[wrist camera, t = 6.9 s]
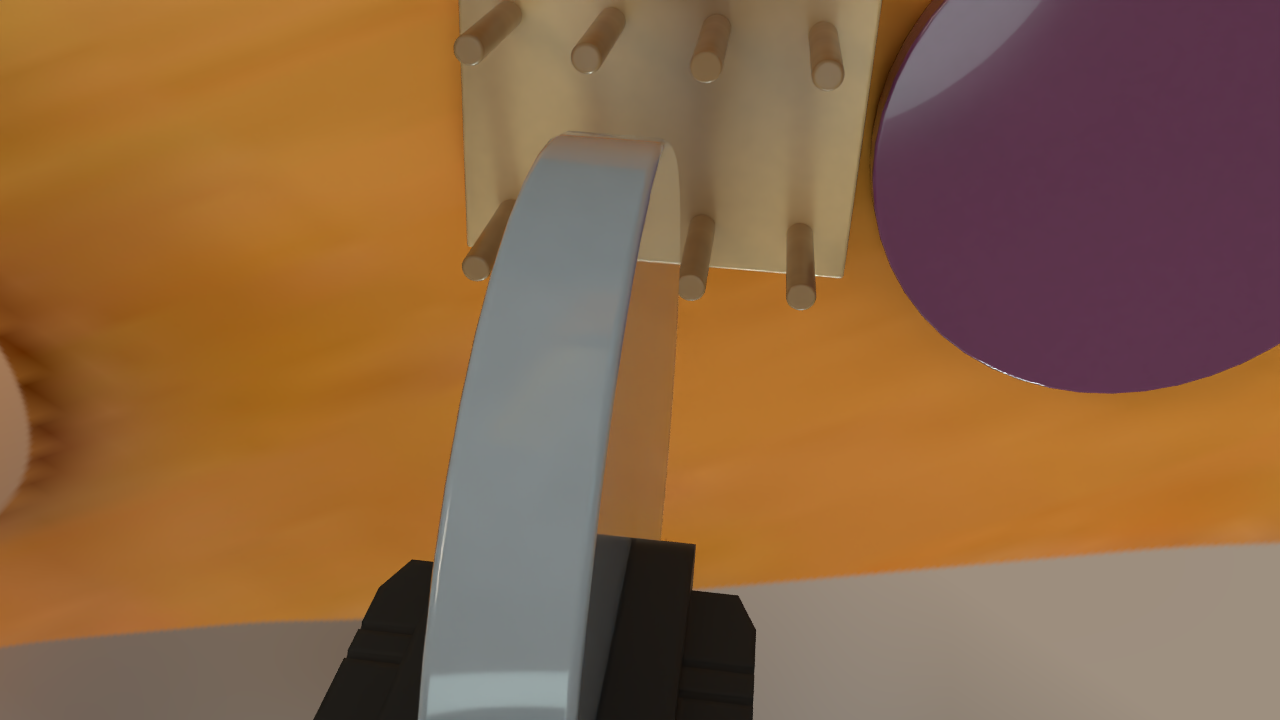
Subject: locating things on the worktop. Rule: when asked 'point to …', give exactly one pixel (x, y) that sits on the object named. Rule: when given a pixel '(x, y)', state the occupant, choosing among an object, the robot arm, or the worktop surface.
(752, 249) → the dish rack
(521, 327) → the plate
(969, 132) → the plum plate
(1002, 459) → the worktop surface
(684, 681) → the robot arm
